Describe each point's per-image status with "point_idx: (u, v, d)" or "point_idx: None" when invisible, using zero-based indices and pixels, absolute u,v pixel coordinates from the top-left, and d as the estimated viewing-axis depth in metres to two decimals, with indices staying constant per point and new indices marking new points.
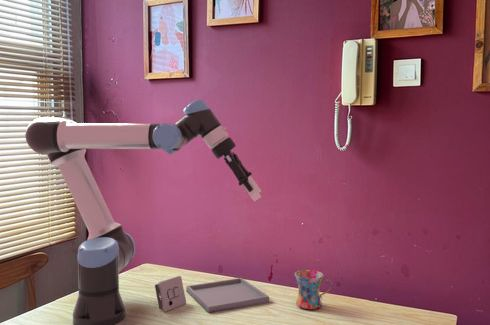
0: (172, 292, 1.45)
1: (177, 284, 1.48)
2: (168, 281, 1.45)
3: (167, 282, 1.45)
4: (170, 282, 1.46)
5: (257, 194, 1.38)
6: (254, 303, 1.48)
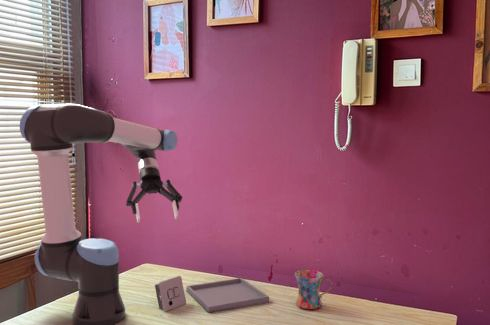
0: (172, 292, 1.45)
1: (177, 284, 1.48)
2: (168, 281, 1.45)
3: (167, 282, 1.45)
4: (170, 282, 1.46)
5: None
6: (254, 303, 1.48)
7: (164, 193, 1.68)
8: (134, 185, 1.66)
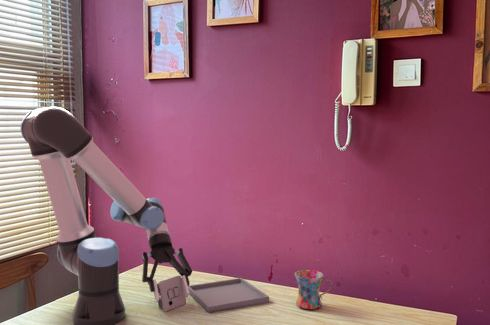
0: (172, 292, 1.45)
1: (177, 284, 1.48)
2: (168, 281, 1.45)
3: (167, 282, 1.45)
4: (170, 281, 1.46)
5: None
6: (254, 303, 1.48)
7: (174, 264, 1.51)
8: (145, 256, 1.49)
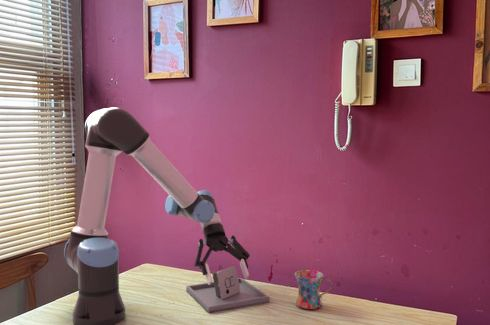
0: (229, 281, 1.54)
1: (233, 274, 1.56)
2: (225, 271, 1.54)
3: (224, 272, 1.53)
4: (226, 271, 1.54)
5: None
6: (254, 303, 1.48)
7: (231, 251, 1.60)
8: (201, 243, 1.58)
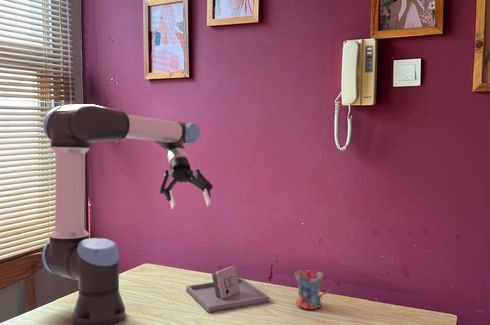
0: (228, 281, 1.54)
1: (232, 274, 1.56)
2: (224, 271, 1.54)
3: (224, 272, 1.54)
4: (226, 271, 1.54)
5: None
6: (254, 303, 1.48)
7: (195, 182, 1.72)
8: (166, 173, 1.69)
